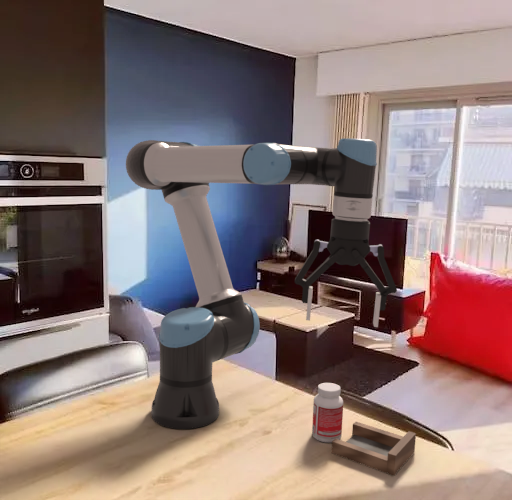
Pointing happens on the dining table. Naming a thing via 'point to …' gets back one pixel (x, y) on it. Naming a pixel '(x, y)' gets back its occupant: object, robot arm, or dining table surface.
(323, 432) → the pill bottle
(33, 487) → the dining table surface
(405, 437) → the tray
